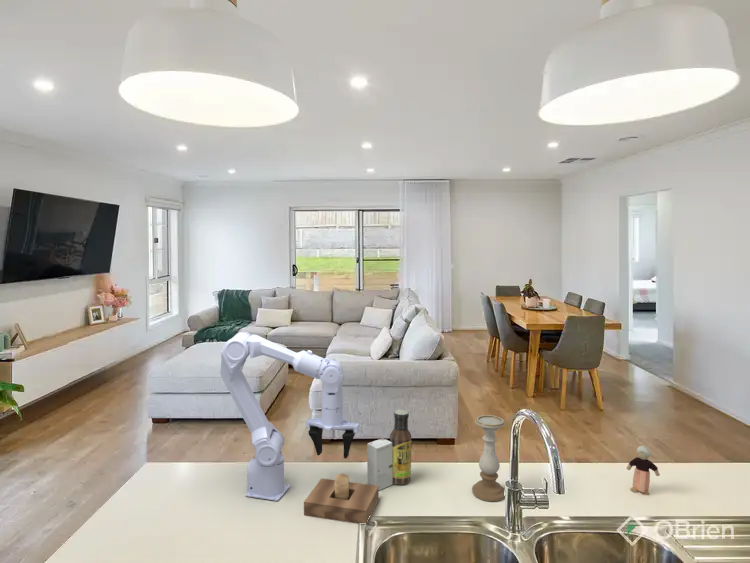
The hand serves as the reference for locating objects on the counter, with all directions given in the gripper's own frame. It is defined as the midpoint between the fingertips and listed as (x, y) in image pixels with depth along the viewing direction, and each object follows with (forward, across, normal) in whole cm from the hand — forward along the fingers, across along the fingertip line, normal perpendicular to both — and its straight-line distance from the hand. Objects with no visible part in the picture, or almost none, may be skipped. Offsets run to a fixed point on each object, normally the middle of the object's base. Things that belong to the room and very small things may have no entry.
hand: (332, 455), depth 129 cm
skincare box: (+10, +12, +6) cm, 17 cm away
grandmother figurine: (+10, +81, +20) cm, 84 cm away
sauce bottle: (+10, +17, +10) cm, 22 cm away
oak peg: (+10, +5, -7) cm, 13 cm away
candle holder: (+10, +41, +9) cm, 43 cm away
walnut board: (+10, +5, -7) cm, 13 cm away
